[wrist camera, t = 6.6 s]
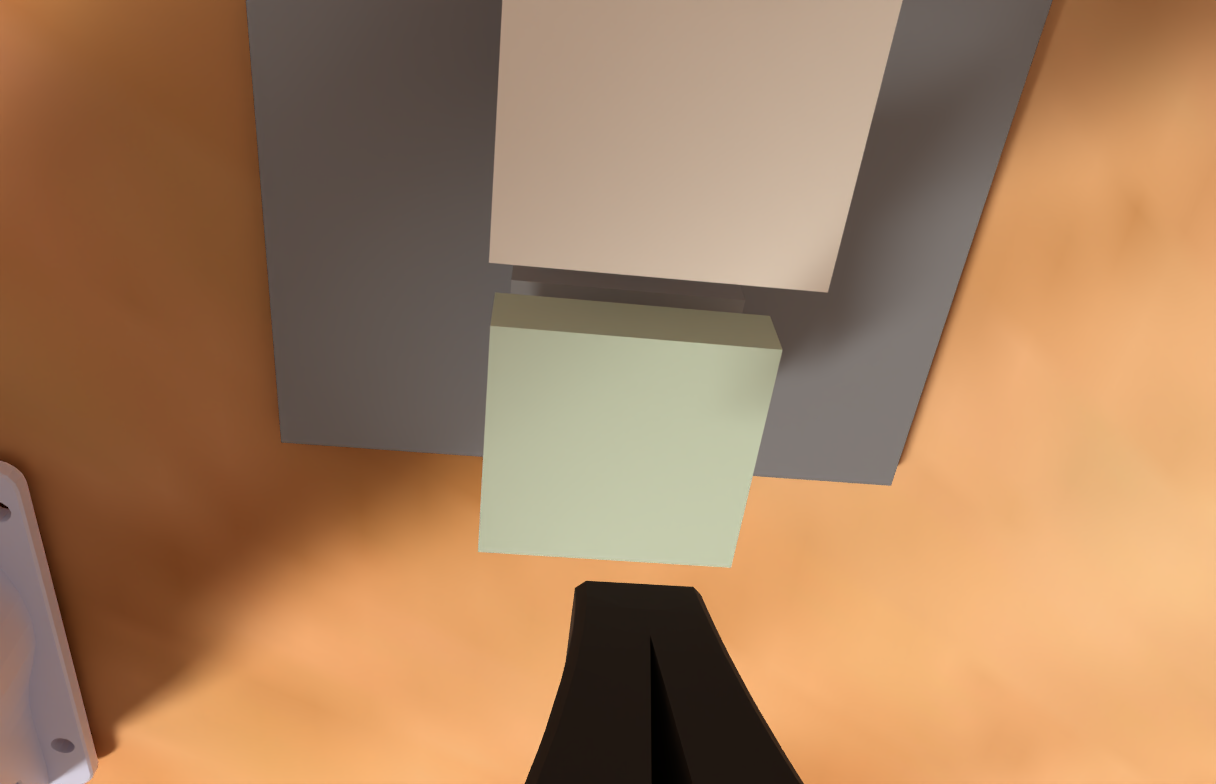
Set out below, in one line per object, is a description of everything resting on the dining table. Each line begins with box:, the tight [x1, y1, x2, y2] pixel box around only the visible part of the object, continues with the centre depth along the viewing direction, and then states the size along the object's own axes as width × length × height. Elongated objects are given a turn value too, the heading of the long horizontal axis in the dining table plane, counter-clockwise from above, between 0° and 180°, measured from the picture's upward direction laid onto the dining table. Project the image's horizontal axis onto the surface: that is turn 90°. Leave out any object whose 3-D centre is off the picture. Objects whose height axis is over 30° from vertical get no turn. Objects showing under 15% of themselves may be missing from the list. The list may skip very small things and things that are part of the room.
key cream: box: [489, 0, 903, 293], centre depth 12 cm, size 4×4×4 cm
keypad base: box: [246, 0, 1052, 486], centre depth 14 cm, size 17×12×2 cm
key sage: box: [478, 292, 782, 568], centre depth 16 cm, size 4×4×4 cm
